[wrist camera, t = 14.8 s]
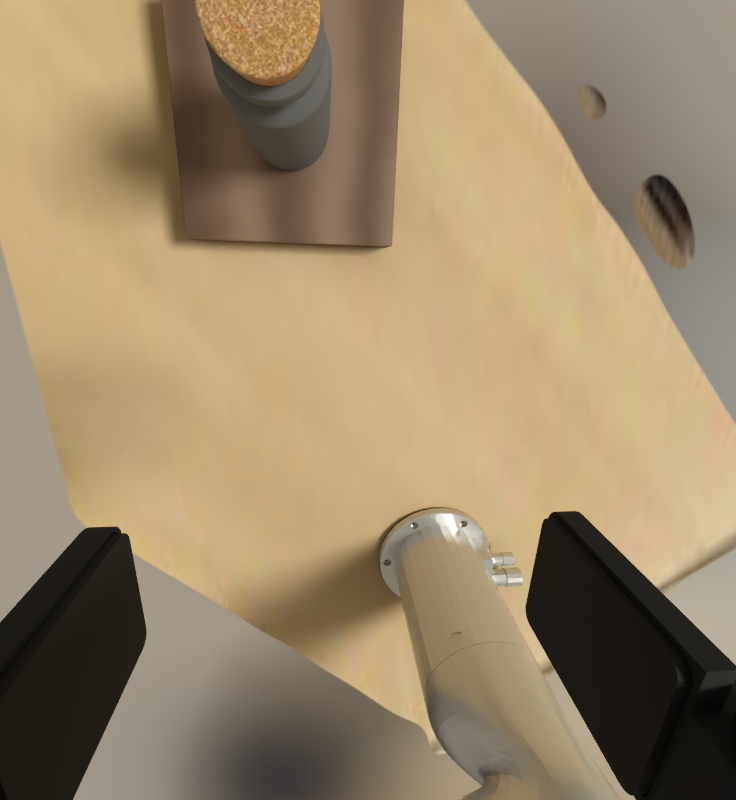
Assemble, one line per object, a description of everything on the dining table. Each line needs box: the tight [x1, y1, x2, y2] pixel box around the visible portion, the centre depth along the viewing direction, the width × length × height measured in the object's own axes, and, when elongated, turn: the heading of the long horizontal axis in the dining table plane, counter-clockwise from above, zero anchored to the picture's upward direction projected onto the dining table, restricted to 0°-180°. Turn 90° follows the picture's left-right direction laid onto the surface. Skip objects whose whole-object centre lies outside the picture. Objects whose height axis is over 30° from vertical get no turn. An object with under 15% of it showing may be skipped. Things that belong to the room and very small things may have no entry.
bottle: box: [195, 0, 332, 171], centre depth 22 cm, size 6×6×15 cm
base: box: [162, 0, 404, 247], centre depth 31 cm, size 16×16×3 cm
